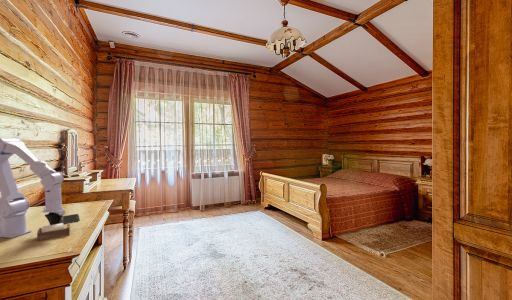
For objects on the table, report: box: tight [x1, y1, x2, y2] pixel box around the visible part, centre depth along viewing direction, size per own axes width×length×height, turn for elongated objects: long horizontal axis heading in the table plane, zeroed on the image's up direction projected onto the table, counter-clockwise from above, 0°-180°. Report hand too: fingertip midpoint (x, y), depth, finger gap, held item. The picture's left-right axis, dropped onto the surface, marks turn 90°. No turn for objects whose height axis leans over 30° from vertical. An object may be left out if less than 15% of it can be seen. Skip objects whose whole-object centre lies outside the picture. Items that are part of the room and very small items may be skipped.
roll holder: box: [36, 223, 71, 242], centre depth 107 cm, size 7×11×4 cm
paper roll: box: [41, 222, 65, 233], centre depth 107 cm, size 7×5×5 cm
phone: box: [60, 213, 80, 225], centre depth 130 cm, size 8×1×15 cm
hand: (55, 228), depth 111 cm, fingers closed
